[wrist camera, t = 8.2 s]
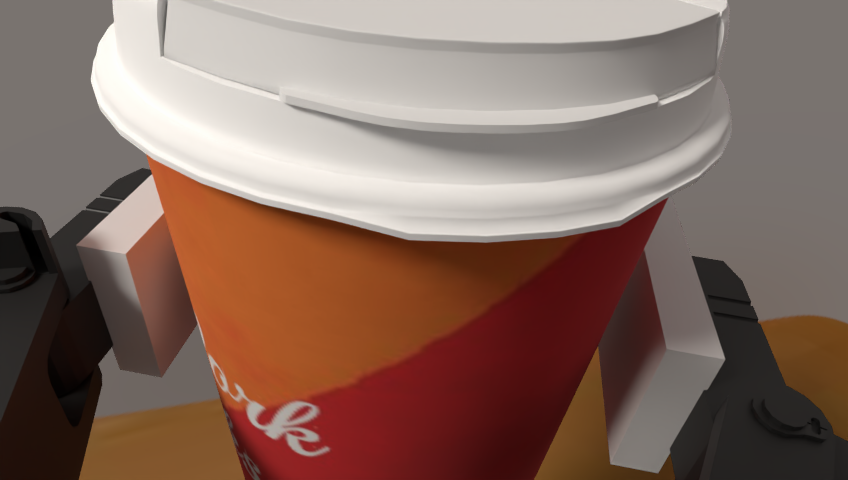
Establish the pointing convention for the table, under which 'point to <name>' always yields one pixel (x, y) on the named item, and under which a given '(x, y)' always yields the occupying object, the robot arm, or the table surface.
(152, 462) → the table surface
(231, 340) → the paper cup
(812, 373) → the table surface
